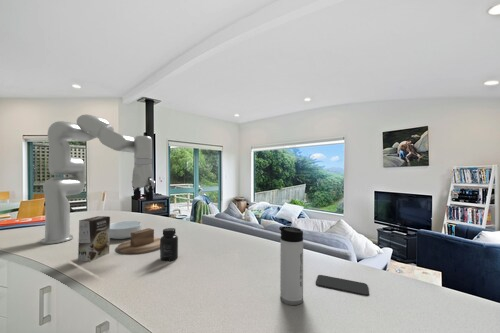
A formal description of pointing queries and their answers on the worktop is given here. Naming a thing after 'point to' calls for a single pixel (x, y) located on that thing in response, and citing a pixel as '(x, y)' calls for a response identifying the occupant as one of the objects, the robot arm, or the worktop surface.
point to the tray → (132, 254)
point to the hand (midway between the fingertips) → (143, 199)
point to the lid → (140, 242)
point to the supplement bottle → (169, 245)
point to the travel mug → (291, 265)
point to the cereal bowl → (124, 229)
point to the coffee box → (93, 238)
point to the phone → (342, 285)
